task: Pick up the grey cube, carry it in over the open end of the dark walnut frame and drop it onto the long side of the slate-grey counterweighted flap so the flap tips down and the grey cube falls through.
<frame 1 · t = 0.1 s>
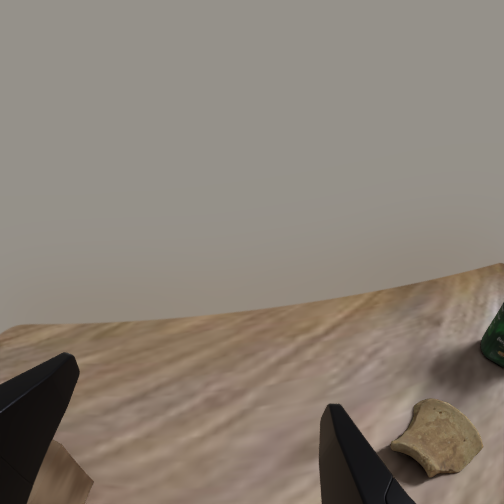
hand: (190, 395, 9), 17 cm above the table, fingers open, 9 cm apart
pottery shard: (432, 448, 20), on the table
coffee jar: (498, 356, 32), on the table
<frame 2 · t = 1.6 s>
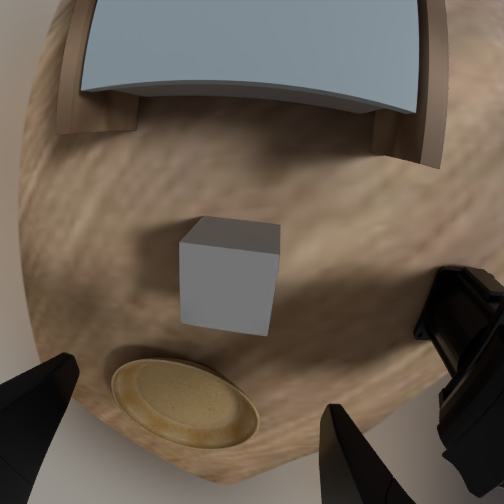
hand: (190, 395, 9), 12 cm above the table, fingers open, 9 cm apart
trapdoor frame: (259, 43, 14), on the table
plant saucer: (188, 393, 26), on the table
grey cube: (238, 255, 20), on the table
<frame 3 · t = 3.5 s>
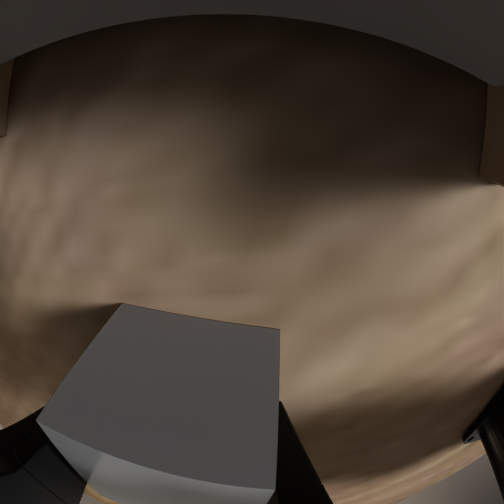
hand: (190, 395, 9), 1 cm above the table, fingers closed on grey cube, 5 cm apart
grey cube: (196, 373, 9), on the table, touching gripper
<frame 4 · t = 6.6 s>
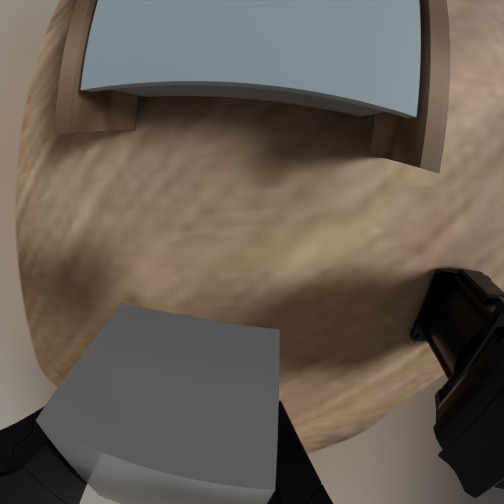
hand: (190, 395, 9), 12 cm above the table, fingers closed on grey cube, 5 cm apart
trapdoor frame: (259, 44, 14), on the table
grey cube: (196, 373, 9), point 11 cm above the table, touching gripper
when the fingers open (10 cm above the table, at t = 9.5 s): grey cube drops 2 cm, resting on trapdoor.
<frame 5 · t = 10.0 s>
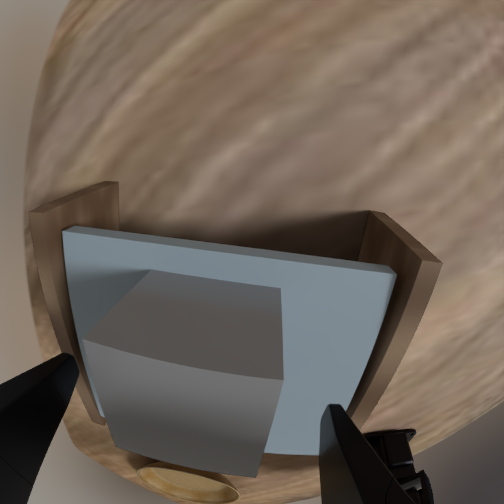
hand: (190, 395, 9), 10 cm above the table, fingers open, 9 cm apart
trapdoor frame: (227, 324, 19), on the table
plant saucer: (190, 474, 32), on the table
trapdoor: (216, 345, 15), point 4 cm above the table, hinge at -5.0°, touching grey cube
grey cube: (210, 334, 12), point 7 cm above the table, touching trapdoor
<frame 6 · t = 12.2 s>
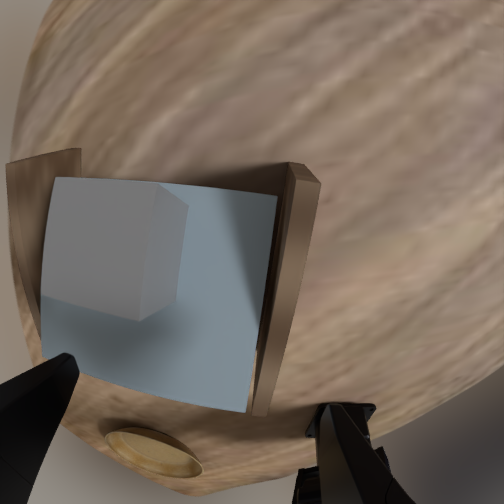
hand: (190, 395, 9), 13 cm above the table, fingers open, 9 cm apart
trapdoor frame: (168, 272, 21), on the table
plant saucer: (157, 444, 34), on the table
trapdoor: (148, 286, 17), point 4 cm above the table, hinge at -24.2°, touching grey cube
grey cube: (138, 246, 15), point 5 cm above the table, tilted 24°, touching trapdoor
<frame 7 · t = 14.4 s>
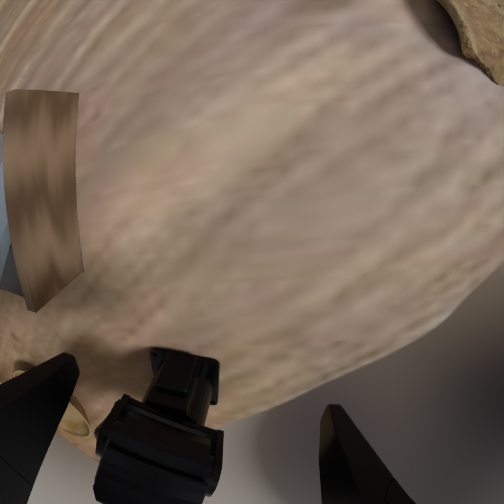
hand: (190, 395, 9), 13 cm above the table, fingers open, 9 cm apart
pottery shard: (478, 33, 12), on the table
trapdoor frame: (15, 200, 21), on the table
plant saucer: (57, 395, 33), on the table
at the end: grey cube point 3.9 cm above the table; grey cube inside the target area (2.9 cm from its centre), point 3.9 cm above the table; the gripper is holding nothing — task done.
